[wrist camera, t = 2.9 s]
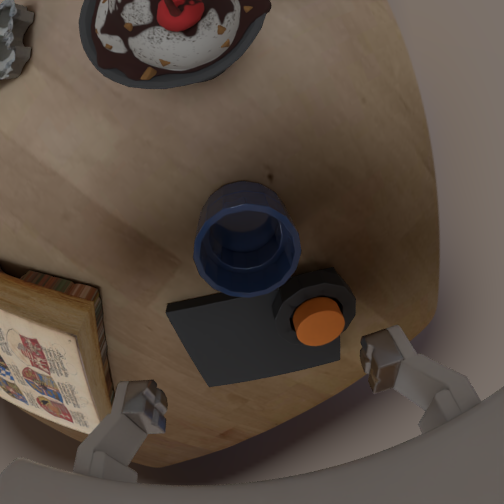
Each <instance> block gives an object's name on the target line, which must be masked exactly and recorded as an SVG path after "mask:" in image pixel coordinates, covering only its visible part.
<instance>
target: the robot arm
mask: <svg viewBox="0 0 504 504" xmlns="http://www.w3.org/2000/svg"><path fill="white" fill-rule="evenodd" d="M361 345H362V348H361V350H360V360H361V364H362V367H363V370H364V372H365V373H367V374H369V379H368V382H369V384H370V387H371V389H372V391H373V394H376V393H379V392H382V391H385V390H388V389H391V388H393V387H394V389H395V390H396V391H398V392H399V393H401V394H402V395H403V396H405V397H406V398H408V399H409V400H410V401H412V402H413V403H415V404H416V405H417V406H419V407H420V408H422V409H423V410H425V411H426V412H425V414H424V415H423V417H422V419H421V420H420V422H419V424H418V425H419V427H420V430H421V432H422V434H421V435H419V436H417V437H415V438H413V439H411V440H408V441H406V442H403V443H401V444H399V445H396V446H394V447H391V448H389V449H386V450H383V451H381V452H378V453H375V454H372V455H370V456H367V457H364V458H361V459H358V460H354V461H351V462H348V463H344V464H341V465H338V466H334V467H330V468H326V469H322V470H318V471H314V472H309V473H305V474H300V475H295V476H290V477H285V478H279V479H272V480H265V481H257V482H249V483H239V484H226V485H207V486H206V485H205V486H174V485H154V484H142V483H137V475H138V474H137V472H136V471H134V470H133V469H131V468H129V467H128V464H129V463H130V461H131V460H132V458H133V457H134V455H135V454H136V452H137V451H138V449H139V447H140V446H141V444H142V443H143V441H144V440H145V438H146V437H147V434H157V433H165V428H166V418H165V417H164V416H163V415H164V414H165V413H166V411H167V407H168V403H167V398H166V395H165V393H164V392H163V391H162V390H161V389H159V388H157V384H156V382H155V381H154V380H139V381H121V382H119V384H118V385H117V389H116V393H115V397H114V401H113V406H112V410H111V414H107V415H106V417H105V418H104V419H103V420H102V421H101V422H100V423H99V424H98V425H97V427H96V428H95V429H94V430H93V431H92V432H91V433H90V434H89V436H88V437H87V438H86V439H85V440H84V441H83V442H82V443H81V445H80V446H79V447H78V449H77V454H76V459H75V464H74V469H73V472H69V471H65V470H61V469H58V468H54V467H50V466H47V465H44V464H40V463H37V462H34V461H31V460H28V459H26V458H22V457H19V458H17V459H15V460H14V461H13V462H12V463H11V464H10V465H9V466H7V468H6V469H4V470H3V472H2V473H1V474H0V504H504V387H502V388H501V389H499V390H498V391H496V392H495V393H494V394H492V395H491V396H489V397H488V398H486V399H485V400H483V401H481V400H480V399H479V397H478V395H477V393H476V392H475V390H474V388H473V386H472V385H471V383H470V381H469V380H468V378H467V377H466V376H464V375H462V374H460V373H458V372H456V371H454V370H452V369H450V368H448V367H446V366H444V365H442V364H440V363H438V362H436V361H434V360H432V359H431V358H428V357H427V356H424V355H423V354H416V352H415V350H414V348H413V347H412V345H411V344H410V342H409V340H408V339H407V337H406V335H405V334H404V332H403V330H402V329H401V327H400V326H399V325H395V326H392V327H389V328H386V329H382V330H380V331H377V332H374V333H371V334H368V335H365V336H362V338H361Z"/></svg>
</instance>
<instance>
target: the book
mask: <svg viewBox="0 0 504 504" xmlns="http://www.w3.org/2000/svg"><path fill="white" fill-rule="evenodd" d="M102 317H103V311H102V305H101V299H100V298H99V293H98V289H96V288H93V287H91V286H87V285H83V284H73V282H72V281H69V280H65V279H61V278H57V277H52V276H50V275H46V274H41V273H37V272H33V271H28V272H27V273H26V274H25V275H23V276H22V277H21V278H20V279H18V278H15V277H12V276H10V275H7V274H5V273H4V272H3V271H2V270H1V267H0V397H1V398H3V399H5V400H7V401H9V402H11V403H13V404H15V405H17V406H19V407H21V408H23V409H25V410H27V411H29V412H32V413H34V414H36V415H38V416H41V417H43V418H45V419H48V420H50V421H53V422H55V423H58V424H61V425H63V426H66V427H69V428H71V429H74V430H77V431H80V432H83V433H86V434H90V433H91V432H92V431H93V430H94V429H95V428H96V427H97V425H98V424H99V423H100V422H101V421H102V420H103V419H104V418H105V417H106V415H107V414H111V410H112V406H113V401H114V394H113V391H112V387H113V386H112V383H111V377H110V374H109V367H108V361H107V360H108V358H107V354H106V352H107V345H106V340H105V337H106V336H105V335H104V326H103V320H102V319H103V318H102Z"/></svg>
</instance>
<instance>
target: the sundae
mask: <svg viewBox="0 0 504 504" xmlns="http://www.w3.org/2000/svg"><path fill="white" fill-rule="evenodd" d="M270 9H271V2H270V0H84V3H83V5H82V8H81V13H80V18H79V31H80V38H81V42H82V45H83V49H84V51H85V52H86V54H87V56H88V58H89V60H90V61H91V62H92V64H93V65H94V66H95V68H96V69H97V70H98V71H99V72H101V73H102V74H103V75H104V76H105V77H107V78H109V79H111V80H112V81H114V82H117V83H120V84H122V85H125V86H128V87H134V88H144V89H168V88H173V87H179V86H185V85H189V84H193V83H199V82H204V81H208V80H211V79H213V78H215V77H217V76H219V75H220V74H221V73H223V72H224V71H225V70H226V69H227V68H228V67H230V66H231V65H232V64H233V63H234V62H235V61H236V60H238V59H239V58H240V57H241V56H242V55H243V54H244V52H245V51H246V50H247V49H248V47H249V46H250V45H251V44H252V42H253V40H254V39H255V37H256V36H257V34H258V33H259V31H260V30H261V28H262V25H263V22H264V19H265V16H266V14H267V13H268V12H269V11H270Z"/></svg>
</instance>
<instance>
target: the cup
mask: <svg viewBox="0 0 504 504" xmlns="http://www.w3.org/2000/svg"><path fill="white" fill-rule="evenodd" d="M300 255H301V245H300V239H299V234H298V231H297V229H296V227H295V225H294V223H293V221H292V219H291V217H290V215H289V213H288V211H287V209H286V207H285V205H284V204H283V202H282V201H281V199H280V198H279V197H278V195H277V194H276V193H275V192H274V191H272V190H270V189H269V188H267V187H265V186H263V185H262V184H259V183H253V182H246V181H240V182H236V183H232V184H228V185H225V186H223V187H221V188H220V189H219V190H217V191H216V192H214V193H213V194H212V195H210V197H209V198H208V200H207V201H206V203H205V205H204V206H203V208H202V210H201V213H200V218H199V222H198V227H197V231H196V236H195V242H194V254H193V259H194V261H195V264H196V267H197V269H198V272H199V274H200V276H201V277H202V278H203V279H204V280H205V281H206V282H207V283H208V284H209V285H210V286H211V287H212V288H213V289H216V290H218V291H220V292H222V293H224V294H227V295H229V296H235V297H246V298H249V297H250V298H251V297H255V296H260V295H264V294H268V293H270V292H272V291H273V290H275V289H277V288H278V287H280V286H282V285H283V284H284V283H286V281H287V280H288V279H289V278H290V277H291V275H292V274H293V273H294V272H295V270H296V269H297V265H298V262H299V259H300Z"/></svg>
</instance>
